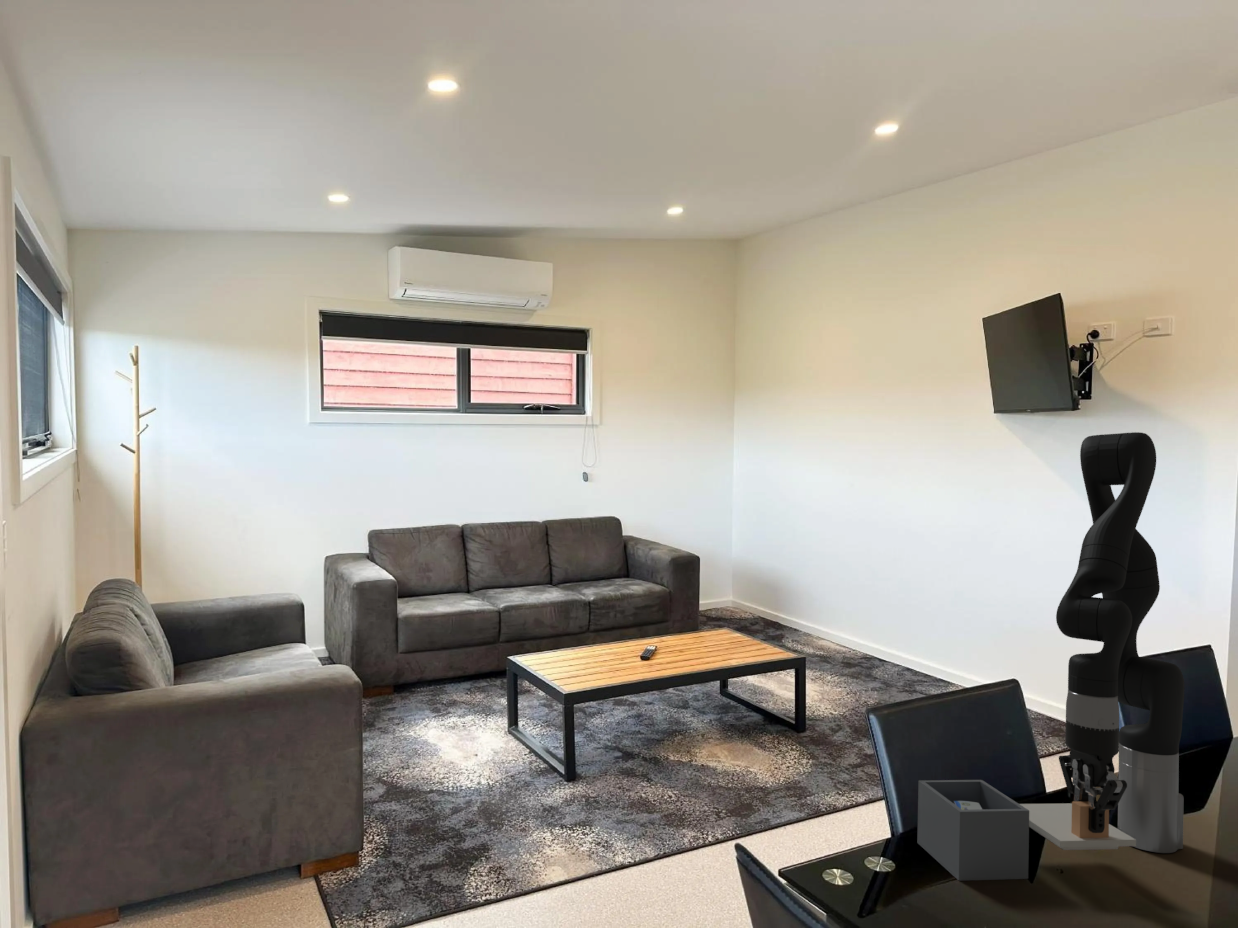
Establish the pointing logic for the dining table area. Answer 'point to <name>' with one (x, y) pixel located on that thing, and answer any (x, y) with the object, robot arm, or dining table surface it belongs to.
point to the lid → (1074, 827)
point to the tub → (973, 830)
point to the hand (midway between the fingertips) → (1090, 827)
